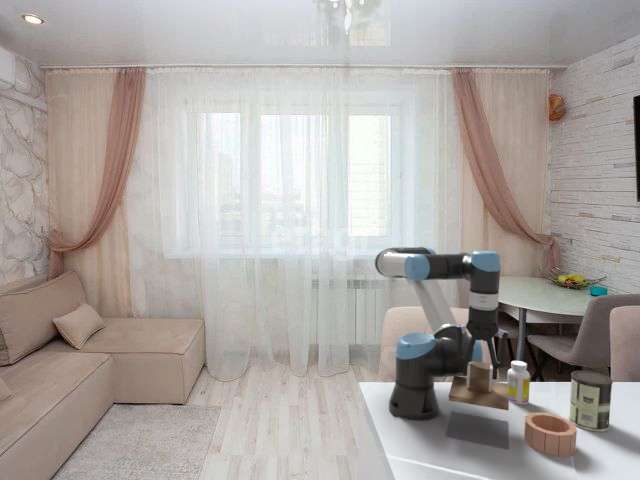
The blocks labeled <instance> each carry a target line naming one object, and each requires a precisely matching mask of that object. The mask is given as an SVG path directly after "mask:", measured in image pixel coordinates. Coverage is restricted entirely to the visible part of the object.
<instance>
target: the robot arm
mask: <svg viewBox="0 0 640 480" xmlns="http://www.w3.org/2000/svg"><path fill="white" fill-rule="evenodd" d="M374 267H375V270H376V271H377V272H378V274H380V275H381V276H384V277H385V278H390V279H406V282H407V283H408V285H409V286H411V287H413V288H414V291H415V292H416V295H417V298H418V301H419V302H420V305H421V308H422V310H423V312H424V315H425V318H426V320H427V323H428V325H429V328H430V330H431V332H432V334H430V333H427V332H423V333H422V332H413V333H407V334H405V335H403V336H401V337H400V338H398V340H397V342H396V350H395V379H394V381H395V384H394V387H393V389H392V391H391V394H390V396H389V401H388V410H389V412H390V413H391V414H392V415H393V416H395V417H400V418H401V419H405V420H408V421H415V422H416V421H417V422H421V421H422V422H424V421H430V420H433V419H435V418H437V416H438V415H439V414H440V404H439V401H438V398H437V394H436V390H435V378H449V377H453V378H454V376H458V377H466V378H467V386H466V388H469V387H470V365H471V361H476V362H483V358H484V356H483V354H484V353H483V347H482V344H481V341H484V342H486V345H487V348H488V351H489V356H490V360H491V361H490V362H491V364H492V365H491V364H490V373H489V392H492V381H493V380H495V381H496V380H497V378H498V369H500V368H502V369H504V368H505V365H506V341H507V339H508V337H509V332H508V330H506V329H505V330H503V329H501V328H499V326H498V313H499V312H498V311H499V310H498V309H497V308H498V307H499V292H500V291H499V289H500V280H501V279H500V277H501V268H502V267H501V255H500V253H499V252H497V251H493V250H481V249H479V250H473V252H471V254H470V253H468V252H461V251H460V252H459V251H458V252H454V253H440V254H439V253H438V254H437V252H436V250H434V249H432V248H431V247H424V246H417V247H415V246H414V247H405V246H404V247H400V246H399V247H388V248H385V249H383V250H381V251H380V252H379V253H378V254H377V255H376V256H375V259H374ZM439 280H441V281H443V280H445V281H448V280H452V281H453V280H464V281H468V282H469V297H468V298H469V299H468V300H469V303H468V304H469V307H468V319H467V322H466V324H463V325H461V324H458V322H457V320H456V318H455V316H454V314H453V312H452V310H451V307H450V305H449V303H448V301H447V299H446V297H445V294H444V292H443V290H442V288H441V286H440V284H439ZM467 332H468V333H469V334H470V336H469V335H468V333H467ZM496 334H498V338H500V346H499V347H500V348H499V351H500V353H499V354H500V355H499V361H498V360H497V356H496V351H495V347H494V342H493V338H494V337H495V335H496Z"/></svg>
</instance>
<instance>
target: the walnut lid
mask: <svg viewBox="0 0 640 480" xmlns="http://www.w3.org/2000/svg"><path fill="white" fill-rule="evenodd" d="M490 365H491V363H489V362H483V361H482V362H476V361H471V365H470V387H469V388H466V386H467V377H466V376H453V379H452V383H451V386H450V389H449V393H448V401H449V402H456V403H461V404H468V405H473V406H480V407H485V408H492V409H498V410H502V411H503V410H504V411H509V409H510V408H509V407H510V406H509V404H510V403H509V401H508V384H507V382H505V383H504V382H499V381H493V380H492V392H489V375H490Z"/></svg>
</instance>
